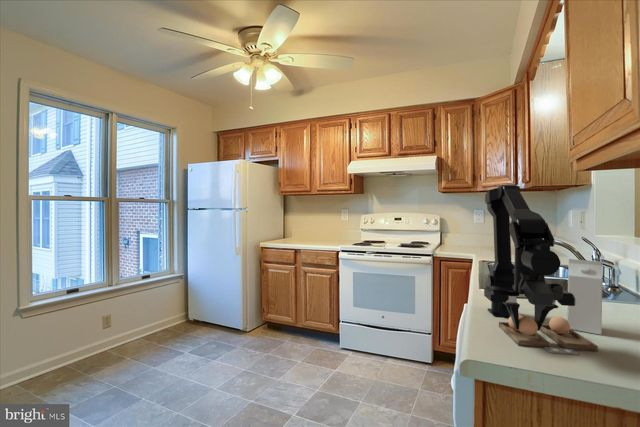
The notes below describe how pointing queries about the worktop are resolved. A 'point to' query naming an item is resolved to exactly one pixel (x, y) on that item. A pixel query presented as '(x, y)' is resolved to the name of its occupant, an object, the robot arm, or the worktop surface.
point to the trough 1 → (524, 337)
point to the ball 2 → (527, 326)
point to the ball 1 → (513, 323)
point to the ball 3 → (559, 325)
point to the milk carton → (585, 295)
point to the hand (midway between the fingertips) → (527, 329)
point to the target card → (561, 350)
